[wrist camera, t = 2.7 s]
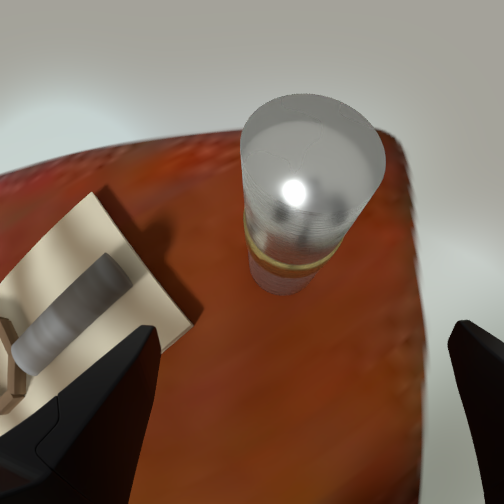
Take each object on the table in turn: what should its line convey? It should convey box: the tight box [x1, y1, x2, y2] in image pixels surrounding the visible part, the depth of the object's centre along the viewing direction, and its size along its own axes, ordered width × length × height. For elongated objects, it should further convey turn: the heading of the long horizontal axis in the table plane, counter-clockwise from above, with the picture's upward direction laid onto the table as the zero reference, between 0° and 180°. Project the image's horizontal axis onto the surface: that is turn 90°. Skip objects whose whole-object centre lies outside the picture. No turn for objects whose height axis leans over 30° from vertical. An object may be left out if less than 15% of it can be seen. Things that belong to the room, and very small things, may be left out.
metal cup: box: [240, 94, 386, 295], centre depth 15 cm, size 5×5×13 cm
